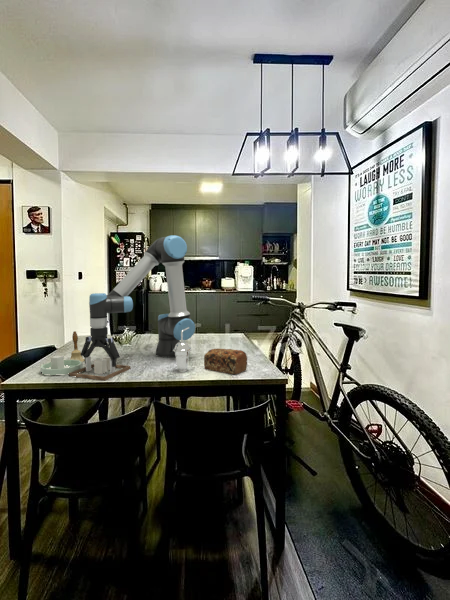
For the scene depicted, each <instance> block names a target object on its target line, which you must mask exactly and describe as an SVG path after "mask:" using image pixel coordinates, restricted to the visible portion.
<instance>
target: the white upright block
mask: <svg viewBox="0 0 450 600" xmlns="http://www.w3.org/2000/svg"><path fill="white" fill-rule="evenodd" d="M102 359H107V371H109V370H110V360H111V358H110V357H109V355H105V356H103V357H102Z"/></svg>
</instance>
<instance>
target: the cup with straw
mask: <svg viewBox="0 0 450 600" xmlns="http://www.w3.org/2000/svg"><path fill="white" fill-rule="evenodd" d="M187 329H189V327H188V328H186V329H184V330H182V331H181V340H180V342H178V343H177V344H176V345H175V348H173V351H174V352H175V362H176V369H177V372H180V373H184V372H187V371H188V368H189V367H188V366H189V357H190V351H192V348H191V347H190V345H189V343H188V342H186V341H185V340H183V331H185V330H187Z"/></svg>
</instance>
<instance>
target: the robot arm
mask: <svg viewBox="0 0 450 600" xmlns="http://www.w3.org/2000/svg"><path fill="white" fill-rule="evenodd" d="M187 245H188V244H187V242H186V241H185V240H184V238H183V237H181V236H179V235H174V234H173V235H172V234H171V235H168V236H162V237H159V238H157V239H156V240H155V241H153V243H152V244H151V245H150V246H148V248H147V249H146V250H145V252H143V257H141V259H140V260H139V261H138V262H137V263H136V264H135V265H134V266H133V267H132V268H131V270H129V272H128V273H127V274H126V275H125V276H124V277H123V278H122V279H121V280H120V282H119V283H117V284H116V286H115V287H114V288H113V289H112V290H111V291H110V292H109V293H108V294H106V293H103V292H102V293H100V292H99V293H98V292H97V293H96V292H95V293H90V295H89V301H88V304H89V306H88V307H89V326H90V335H89V336H88V335H87V336H85V341H84V344H83V347H82V350H81V356H82V357H83V359H85V361H84V365H85V367H86V371H85V372H86V373H87V372H90V371H92V369H91V365H92V356H91V354H92V353H93V351H94V350H95V348H102V349H103V350H104V352H106V355H107V356H109V357H110V358H111V360H110V371H109V374H111V373H114V372H116V368H115V366H116V365H117V359H119V358H121V356H120V354H119V351H118V349H117V347H116V344H115V342H114V337H109V338H108V334H109V333H108V330H109V329H108V314H116V313H117V314H118V313H130V312H132V311H133V308H134V302H133V299H132V297H131V296H129V295H130V294H131V293H132V292H133V291H134V289H135V288H136V287H137V286H138V285H139V284H140V283H141V282H142V280H144V278H145V277H146V276H147V275H148V274H149V273H150V272H151V270H153V269H154V267H155V266H159V264H162V265H163V266H164V267H165V268H164V269H165V274H166V275H165V276H166V284H167V294H168V302H169V311H170V312H169V313H163V314H159V315H158V316H157V328H158V330H157V332H158V342H157V346H156V348H155V356H157V357H161V358H174V357H175V358H176V356H175V352H174V351H173V348H175V345H176V344H177V343H178V342H181V331H182V330H184V329H186V328H188V327H189V329H187V330H185V331H183V341H188V340H189V339H191V338H192V336H193V335H194V334H195V332H196V325H195V322H194V321H193V320H192V318H191V312H190V311H188V309H187V299H186V291H185V290H186V289H185V282H184V272H183V271H184V270H183V265H184V263H185V256H186V254H187V252H188V246H187Z"/></svg>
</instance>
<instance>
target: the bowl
mask: <svg viewBox="0 0 450 600" xmlns="http://www.w3.org/2000/svg"><path fill="white" fill-rule="evenodd" d="M64 365H65V366H66V365H68V366H70V367H69V368H63V369H46V368H49V367H51V361H50V362H46V363H43V364H42V365H41V366H39V367H40V368H39V369H40V373H41V372H42V373H43V374H50V375H56V374H68V373H71V372H73V371H76V370H79V369H82V368H84V367H83V362H81V361H79V360H70V359H64Z"/></svg>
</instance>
